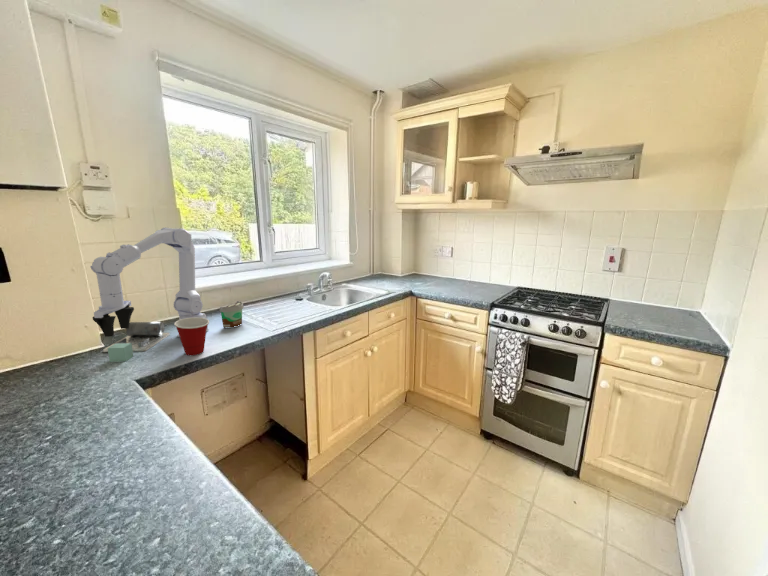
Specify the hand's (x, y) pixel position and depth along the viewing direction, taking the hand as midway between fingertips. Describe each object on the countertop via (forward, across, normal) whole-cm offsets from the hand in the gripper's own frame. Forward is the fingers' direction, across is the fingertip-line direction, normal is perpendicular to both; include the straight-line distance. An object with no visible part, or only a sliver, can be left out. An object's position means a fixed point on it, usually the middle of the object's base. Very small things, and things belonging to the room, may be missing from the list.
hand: (117, 332), depth 107 cm
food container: (+10, -33, +27) cm, 44 cm away
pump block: (+10, +1, +1) cm, 10 cm away
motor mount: (+9, -14, -2) cm, 17 cm away
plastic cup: (+10, -3, +23) cm, 25 cm away
